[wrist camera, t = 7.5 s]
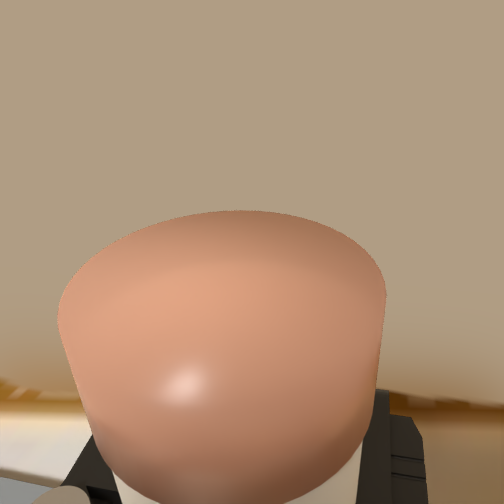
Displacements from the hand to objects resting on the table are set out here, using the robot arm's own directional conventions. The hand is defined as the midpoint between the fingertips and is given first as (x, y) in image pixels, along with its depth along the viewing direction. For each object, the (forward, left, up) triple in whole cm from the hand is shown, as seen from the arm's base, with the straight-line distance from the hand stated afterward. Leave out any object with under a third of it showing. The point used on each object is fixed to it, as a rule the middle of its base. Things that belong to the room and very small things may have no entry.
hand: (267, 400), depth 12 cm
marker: (0, +3, -8) cm, 8 cm away
